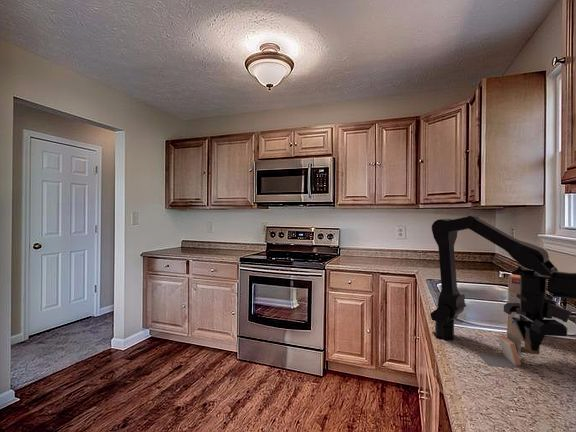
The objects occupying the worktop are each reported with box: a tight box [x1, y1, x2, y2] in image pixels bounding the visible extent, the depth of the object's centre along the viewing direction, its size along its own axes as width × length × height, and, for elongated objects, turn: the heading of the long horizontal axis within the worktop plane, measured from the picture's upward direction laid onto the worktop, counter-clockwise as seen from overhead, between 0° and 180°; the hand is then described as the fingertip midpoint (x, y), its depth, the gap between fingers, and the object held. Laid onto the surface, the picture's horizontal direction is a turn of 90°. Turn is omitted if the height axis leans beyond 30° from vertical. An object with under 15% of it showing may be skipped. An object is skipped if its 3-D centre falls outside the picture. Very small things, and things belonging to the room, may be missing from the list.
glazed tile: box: [498, 334, 522, 366], centre depth 90 cm, size 6×1×6 cm, turn 171°
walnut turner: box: [506, 332, 541, 357], centre depth 90 cm, size 6×6×5 cm
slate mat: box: [476, 352, 525, 369], centre depth 91 cm, size 8×9×1 cm
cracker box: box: [506, 273, 524, 341], centre depth 109 cm, size 14×6×21 cm, turn 131°
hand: (531, 348), depth 89 cm, fingers closed on walnut turner, 2 cm apart
